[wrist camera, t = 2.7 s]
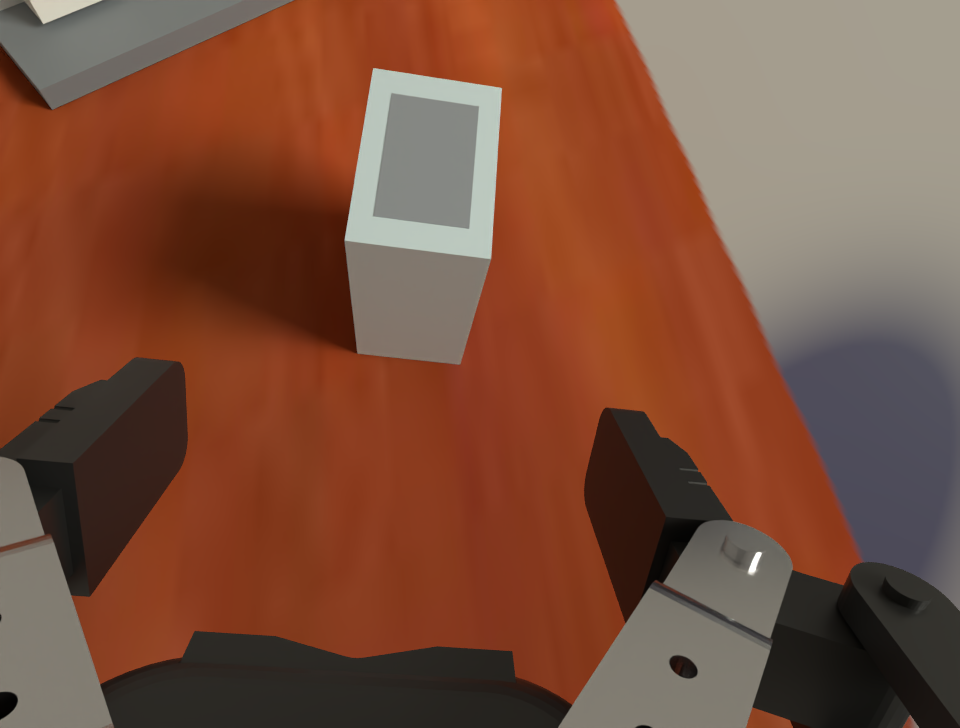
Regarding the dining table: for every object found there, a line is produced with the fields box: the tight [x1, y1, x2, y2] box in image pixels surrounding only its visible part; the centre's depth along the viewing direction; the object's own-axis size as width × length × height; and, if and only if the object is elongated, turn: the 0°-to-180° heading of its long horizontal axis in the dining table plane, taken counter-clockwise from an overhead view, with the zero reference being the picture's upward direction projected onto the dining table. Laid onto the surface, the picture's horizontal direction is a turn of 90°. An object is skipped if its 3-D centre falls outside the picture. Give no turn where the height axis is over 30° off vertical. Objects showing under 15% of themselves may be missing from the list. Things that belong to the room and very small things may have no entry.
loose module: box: [345, 68, 502, 365], centre depth 25 cm, size 4×7×9 cm, turn 176°
